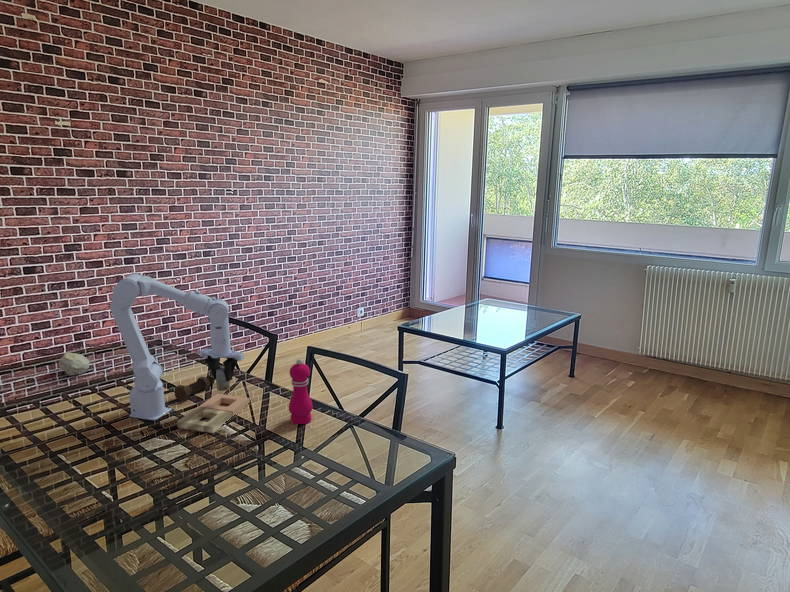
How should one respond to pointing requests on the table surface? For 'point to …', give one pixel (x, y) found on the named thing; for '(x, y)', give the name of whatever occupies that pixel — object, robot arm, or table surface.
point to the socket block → (218, 399)
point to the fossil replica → (73, 363)
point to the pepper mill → (300, 394)
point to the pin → (221, 379)
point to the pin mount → (211, 426)
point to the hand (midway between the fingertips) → (223, 379)
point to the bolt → (193, 388)
